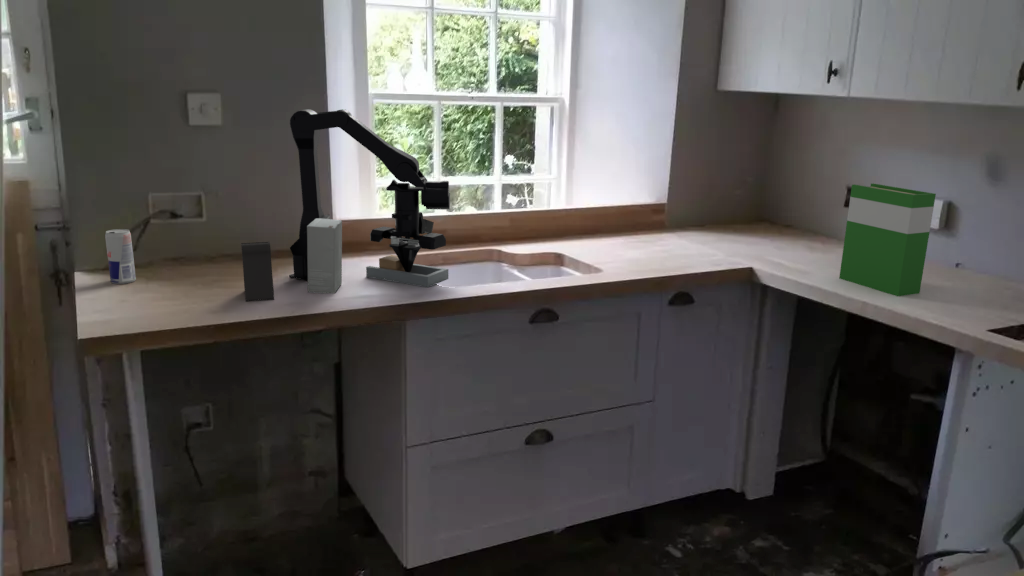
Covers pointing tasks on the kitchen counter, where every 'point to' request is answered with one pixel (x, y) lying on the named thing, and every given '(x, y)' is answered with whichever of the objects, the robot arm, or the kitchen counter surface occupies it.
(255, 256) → the dark grey upright block
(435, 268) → the slate channel
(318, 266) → the skincare box
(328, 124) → the robot arm
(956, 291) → the kitchen counter surface
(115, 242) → the energy drink
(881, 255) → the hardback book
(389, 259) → the walnut block
